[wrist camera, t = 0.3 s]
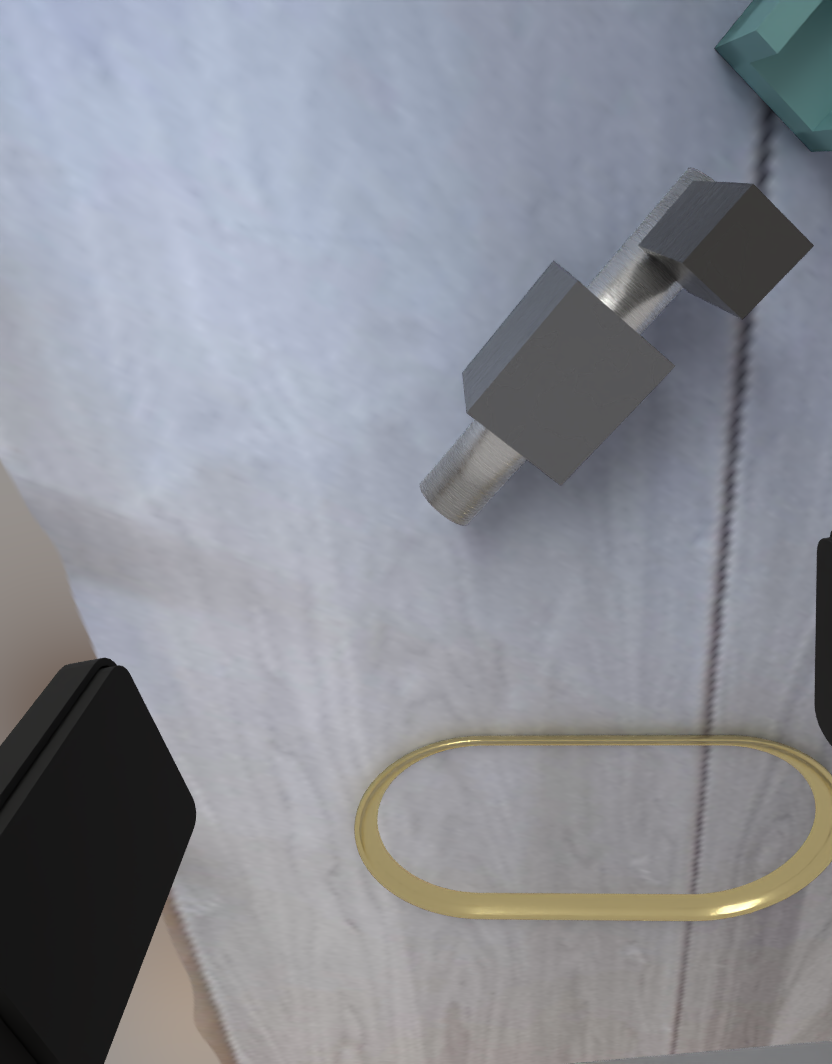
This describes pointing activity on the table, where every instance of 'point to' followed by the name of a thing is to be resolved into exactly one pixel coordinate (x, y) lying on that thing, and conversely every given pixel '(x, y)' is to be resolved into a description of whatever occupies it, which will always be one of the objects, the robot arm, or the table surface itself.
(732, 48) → the socket
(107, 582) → the table surface
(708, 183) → the grey l-shaped bar
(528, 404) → the sleeve
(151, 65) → the table surface
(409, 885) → the tan oval loop
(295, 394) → the table surface
